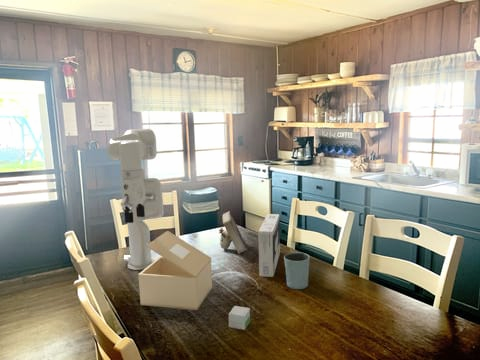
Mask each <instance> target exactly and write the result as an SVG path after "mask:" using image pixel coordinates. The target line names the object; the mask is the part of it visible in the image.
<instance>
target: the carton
mask: <svg viewBox="0 0 480 360" xmlns="http://www.w3.org/2000/svg"><path fill="white" fill-rule="evenodd" d="M154 260H155V259H154ZM212 270H213V269H212V259H211V260H210V261H209V262H208V263H207V264H206V266H205V267H204V268H203V269H202V270H201V272H200V273H199V274H198V275H197V276H196V277H194V276H192V275H190V274H189V273H187V272H186V271H184V270H183V269H181V268H179V267H178V266H176V265H175V264H173V263H172V262H170V261H168V260H167V259H165V258H164V257H162V256H159V257H158V258H157V259H156V260H155V261H154V262H153V263H152V264H150V265H149V266H148V267H147V268H146V269H142V270H141V272H139V273H138V274H137V275H138V286H139V300H140V306H147V307H148V306H149V307H159V308H167V309H177V310H178V309H179V310H188V311H198V310H199V308H200V307H201V305H202V304H203V303H204V301H205V300H206V298H207V296H208V295H209V294H210V292H211V291H212V289H213V272H212Z"/></svg>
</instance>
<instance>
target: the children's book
mask: <svg viewBox="0 0 480 360" xmlns="http://www.w3.org/2000/svg"><path fill="white" fill-rule="evenodd" d="M222 224H223V226H224V229H223V227H220V229H219V230H218V234H220V242H219V244H220V248H221V249H223V250H225V251H227V250H228V249H229V248H230V246H231V244H233V245H234V248H235V250H236V252H237V253H238V254H239V255H240V254H241V253H243V252H245V251H247V250H248V248H247V246H246V245H247V244H246V243H247V242H246V241H245V237H243V236H242V233H241V231H240V229H239V227H238V225H237V223H236V221H235V219H234V217H233V215H232V213H231V211H230V210H229V211H227V212H224V213H223V214H222Z"/></svg>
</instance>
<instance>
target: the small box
mask: <svg viewBox="0 0 480 360" xmlns="http://www.w3.org/2000/svg"><path fill="white" fill-rule="evenodd" d="M250 312H251V308H250V307H245V306H240V305H239V306H238V305H234V306H233V307H232V309H231V311H229V313H228V327H229V328H232V329H238V330H243V331H244V330H246V328H247V327H248V325H249V323H250V321H251V313H250Z"/></svg>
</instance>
